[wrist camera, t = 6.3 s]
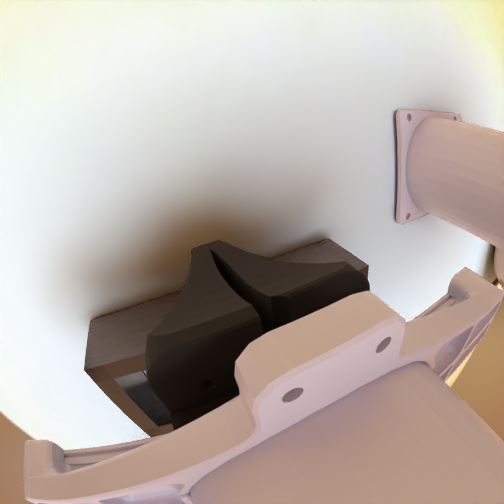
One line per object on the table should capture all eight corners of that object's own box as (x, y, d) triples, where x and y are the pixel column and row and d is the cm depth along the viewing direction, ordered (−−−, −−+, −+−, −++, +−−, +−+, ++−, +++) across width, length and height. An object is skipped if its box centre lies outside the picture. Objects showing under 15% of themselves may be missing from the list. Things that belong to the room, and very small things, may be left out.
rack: (328, 238, 16) (368, 265, 13) (323, 404, 25) (339, 427, 22) (90, 320, 12) (84, 370, 9) (201, 453, 22) (211, 481, 19)
